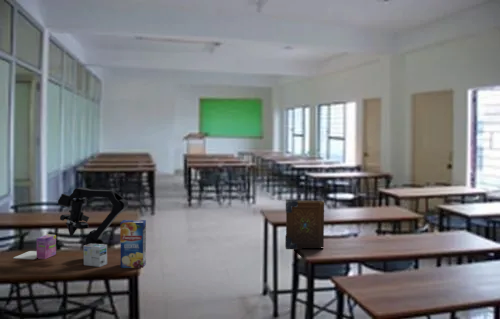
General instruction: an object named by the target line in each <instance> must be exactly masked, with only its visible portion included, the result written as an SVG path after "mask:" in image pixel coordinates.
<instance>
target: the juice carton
mask: <svg viewBox="0 0 500 319" xmlns="http://www.w3.org/2000/svg"><path fill="white" fill-rule="evenodd" d="M119 225H120V227H119V228H120V232H119V233H120V239H119V240H120V241H119V243H120V268H122V269H125V268H126V269H129V268H130V269H133V268H134V269H142V268H144V267H145V266H147V265H146V264H147V232H146V231H147V226H146V225H147V220H146V219H124V220H122V221H121V222H120V224H119Z"/></svg>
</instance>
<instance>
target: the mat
mask: <svg viewBox="0 0 500 319" xmlns="http://www.w3.org/2000/svg"><path fill="white" fill-rule="evenodd" d="M12 259H17V260H36V259H37V250H29V251H26V252H24V253H21V254H19V255H16V256H14V257H13V258H12Z"/></svg>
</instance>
